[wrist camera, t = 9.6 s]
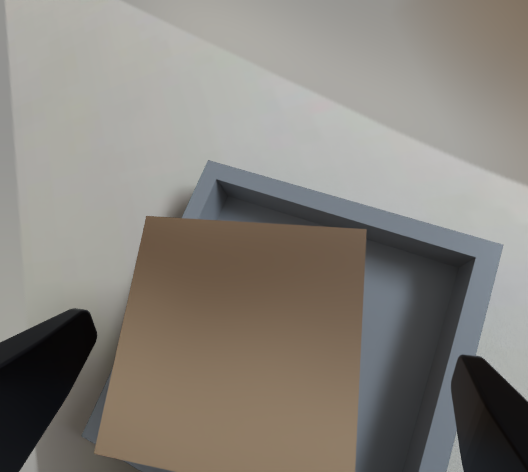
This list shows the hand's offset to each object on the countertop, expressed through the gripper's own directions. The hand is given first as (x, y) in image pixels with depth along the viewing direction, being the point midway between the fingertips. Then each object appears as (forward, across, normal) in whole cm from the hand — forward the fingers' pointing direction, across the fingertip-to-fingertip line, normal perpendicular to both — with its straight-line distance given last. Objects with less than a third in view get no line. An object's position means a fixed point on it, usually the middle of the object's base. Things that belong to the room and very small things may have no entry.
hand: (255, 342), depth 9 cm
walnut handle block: (+6, 0, +6) cm, 8 cm away
